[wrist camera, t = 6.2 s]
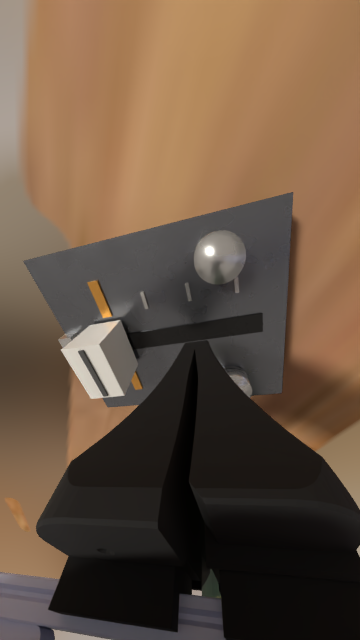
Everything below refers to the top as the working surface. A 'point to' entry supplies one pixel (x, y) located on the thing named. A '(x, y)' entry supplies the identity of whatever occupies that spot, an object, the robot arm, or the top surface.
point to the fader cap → (102, 359)
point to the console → (184, 293)
